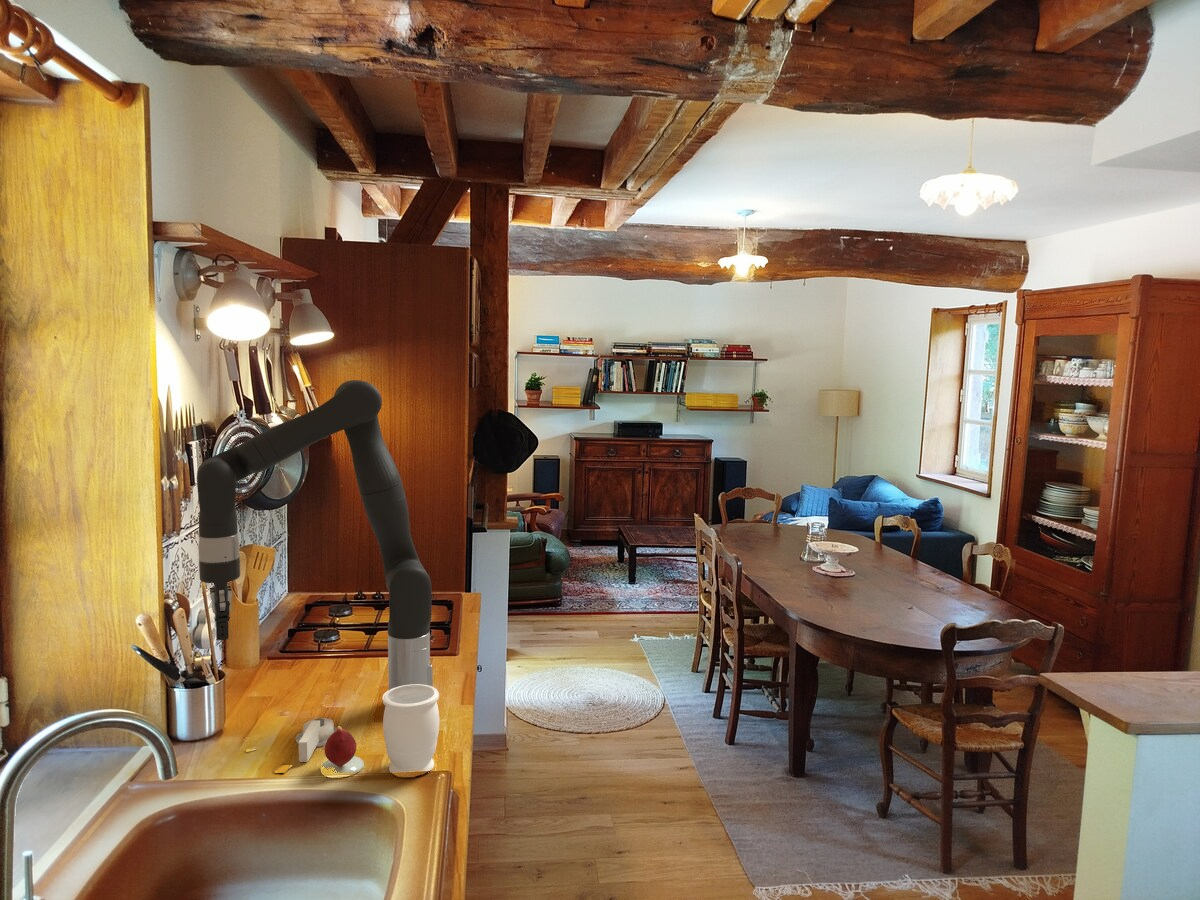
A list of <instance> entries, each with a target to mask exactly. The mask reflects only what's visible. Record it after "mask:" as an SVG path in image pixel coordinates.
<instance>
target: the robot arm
mask: <svg viewBox="0 0 1200 900" xmlns="http://www.w3.org/2000/svg"><path fill="white" fill-rule="evenodd" d="M381 395H382V394H381V393H380V391H379V389H378V388H377V387H376V386H374V385H373V384H372V383H370V382H368V381H366V380H359V379H353V380H352V379H351V380H346V381H343V383H341V384H340V385H339V386H338V387H337V389H336V390H335V392H334V394H333V396H332V397H331V398H329V399H328V400H327V401H326V402H324V403H322V404H321V405H319V406H317V407H316V408H314V409H312V410H310V411H308V412H306V413H304V414H301V415H299V416H297V417H294V418H292V419H290V420H286V421H284V422H282V423H279V424H277V425H275V426H273V427H271V428H269V429H267V430H264V431H262V432H260V433H258V434H256V435H255V436H252V437H251V438H248V439H247V440H246V441H244V442H242V443H241V444H238V445H237V446H234V447H231V448H229V449H227V450H224V451H222V452H220V453H217V454H215V455H213V456H212V457H211V456H210V457H209V458H208V459H206V460H204V461H203V462H202V463H201V464H200V465H199V466H198V468H197V472H196V486H197V497H198V507H199V512H198V534H199V535H198V536H199V537H198V550H197V551H198V567H199V568H198V570H199V572H198V573H199V574H198V575H199V580H200V582H202V583H204V584H213V586H212V587H209V597H210V600H211V611H212V613H213V614H214V616H213V619H214V622H215V631H216V632H215V634H216V635H215V637H216V640H217V641H224V640H228V639H229V622H230V619H231V618H230V617H231V616H230V611H231V610H232V597H233V589H232V585H228V583H229V582H231V581H232V582H233V581H236V580H237V579H239V578H240V577H241V558H240V557H241V556H240V553H241V551H240V542H239V535H238V515H237V509H236V497H237V495H236V494H237V483H238V482H239V481H242V480H243V479H245V478H247V477H249V476H251V475H253V474H258V473H261V472H264V471H267V470H268V469H269V468H272V467H274V466H276V465H277V464H280V463H281V462H283V461H286V460H287V459H289V458H291V457H293V456H294V455H296V454H297V453H300V452H301V451H303V450H305V449H306V448H308V447H310V446H311V445H313V444H316V443H317V442H319V441H321V440H323V439H325V438H327V437H329V436H332V435H334V434H337V433H339V432H341V431H344V433H345V436H346V439H347V442H348V445H349V448H350V453H351V458H352V463H353V468H354V469H353V470H354V473H355V478H356V483H357V487H358V492H359V495H360V498H361V502H362V505H363V508H364V512H365V514H366V517H367V521H368V522H369V525H370V528H371V530H372V532H373V534H374V536H375V538H376V541H377V544H378V546H379V551H380V556H381V559H382V560H381V561H382V566H383V572H384V579H385V586H386V588H387V591H388V599H389V600H388V602H389V605H388V606H389V607H388V609H389V615H388V616H389V617H388V622H387V652H388V653H387V654H388V655H387V657H388V659H387V660H388V661H387V666H388V668H387V669H388V670H387V671H388V691H389V690H390V689H393V688H395V687H398V686H403V685H409V684H424V685H429V686H432V687H434V683H433V682H434V680H433V678H434V676H433V675H434V672H433V671H434V670H433V665H432V663H431V645H430V643H431V638H430V637H431V635H430V631H431V621H432V608H433V607H432V606H433V605H432V603H433V602H432V599H433V597H432V594H433V592H432V591H433V589H432V581H431V578H430V575H429V574H428V572H427V571H426V569H425V567H424V566H423V564H422V562H421V561H420V557H419V555H418V552H417V550H416V547H415V544H414V542H413V539H412V534H411V527H410V515H409V506H408V500H407V497H406V493H405V489H404V485H403V481H402V478H401V475H400V472H399V470H398V467H397V466H396V463H395V461H394V459H393V457H392V455H391V453H390V451H389V449H388V447H387V445H386V443H385V440H384V438H383V434H382V430H381V426H380V421H379V417H378V414H379V413H380V411H381V409H382V405H383V399H382V396H381Z"/></svg>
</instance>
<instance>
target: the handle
mask: <svg viewBox="0 0 1200 900" xmlns="http://www.w3.org/2000/svg"><path fill="white" fill-rule="evenodd" d="M334 727H335V725H334V721H333V720H332V719H330V718H327V717H324V718H323V717H321V718H320V717H319V718H314V719H311V720H308V721H306V722H304V724H303V725H302V731H303V736H302V738H301V739H300V741H299V745H298V763H307V762H309V760H310V758H311V756H312V755H313V753H314V751H315V749H316V748H317V747H316V746H317V744H318V742H322V741H326V740H328V738H329V737H330V736H331V735H332V734H333V733H334Z"/></svg>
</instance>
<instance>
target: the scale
mask: <svg viewBox="0 0 1200 900" xmlns="http://www.w3.org/2000/svg"><path fill="white" fill-rule="evenodd" d="M336 730H337V726H336V727H335V726H334V732H336ZM302 736H303V730H302V731H301V732H299V733H298V734H296V736H295V743H296V744H297V745H298V746H299V741H300V739H301V738H302ZM326 742H327V740H326V741H322V742H318V744H317V746H316V748H322V747H325V744H326ZM251 748H252V749H257V747H251ZM246 749H247V748H246ZM246 749H244V751H245V750H246ZM252 749H251V750H252Z"/></svg>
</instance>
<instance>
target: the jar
mask: <svg viewBox="0 0 1200 900" xmlns="http://www.w3.org/2000/svg"><path fill="white" fill-rule="evenodd" d="M382 695H383V696H382V703H383V705H384V706H385V707H384V712H383V720H382V731H383V738H384V743H385V749H386V754H387V756H388V759H389V761H390V764H389V767H388V770H389V773H391V772H409V771H430V770H431V771H432V770H433V769H434V767H435V761H434V759H433V757H434V755H435V752H436V749H437V744H438V736H439V731H440V712H439V707H438V706H439V705H438V701H439V698H440V693H439V690H438V689H437V688H436V687H435V686H433V687H432V686H429V685H424V684H409V685H403V686H398V687H395V688H393V689H390V690H389V689H388V690H387V691H386V692H384V693H383V694H382ZM431 771H430V772H431Z"/></svg>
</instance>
